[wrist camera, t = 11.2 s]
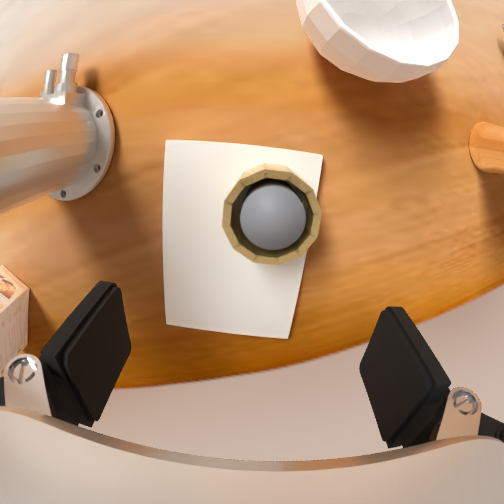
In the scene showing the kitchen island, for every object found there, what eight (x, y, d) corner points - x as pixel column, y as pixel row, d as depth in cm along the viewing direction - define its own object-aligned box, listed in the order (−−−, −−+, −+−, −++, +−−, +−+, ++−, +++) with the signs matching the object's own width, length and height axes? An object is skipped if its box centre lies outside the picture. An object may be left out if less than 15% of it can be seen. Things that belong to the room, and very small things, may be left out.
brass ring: (233, 159, 24) (227, 165, 19) (315, 169, 24) (328, 177, 19) (227, 236, 27) (219, 258, 22) (303, 245, 27) (311, 268, 22)
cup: (354, 115, 23) (401, 108, 14) (262, 22, 20) (262, -28, 11) (430, 56, 19) (487, 38, 10) (349, -29, 16) (379, -76, 7)
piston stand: (169, 139, 24) (144, 141, 19) (320, 154, 24) (337, 160, 19) (168, 319, 32) (153, 352, 27) (287, 333, 32) (291, 370, 27)
